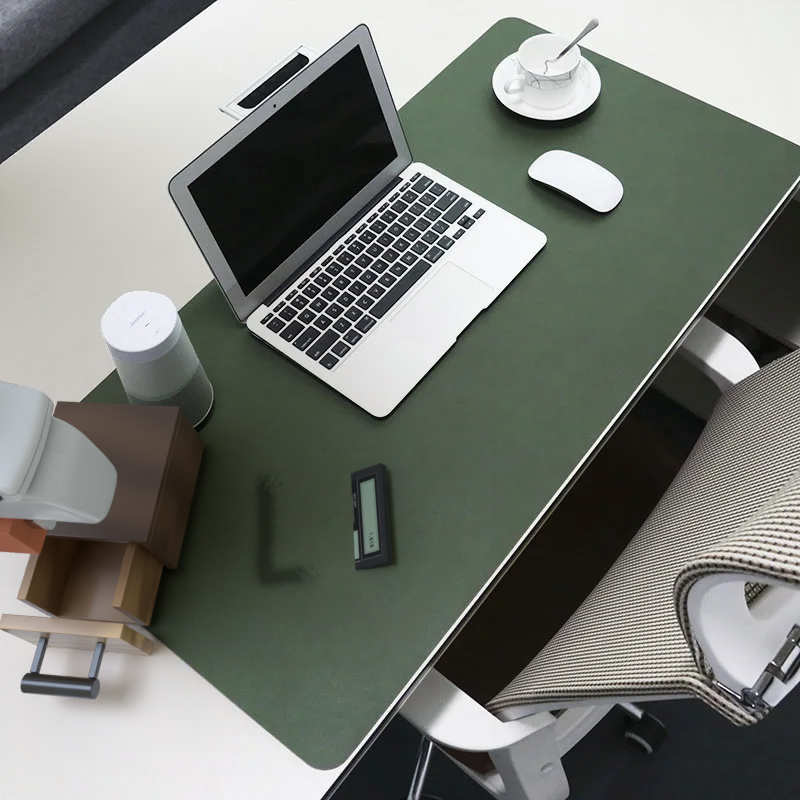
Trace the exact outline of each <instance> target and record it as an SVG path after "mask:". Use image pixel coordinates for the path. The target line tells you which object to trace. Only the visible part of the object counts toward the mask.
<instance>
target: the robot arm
mask: <svg viewBox="0 0 800 800" xmlns="http://www.w3.org/2000/svg"><path fill="white" fill-rule="evenodd" d="M54 408H55V406H54V402H53V400H52V399H51V397H50V396H48V395H47V394H46V393H45V392H43V391H42V390H39V389H37V388H34V387H30V386H25V385H21V384H20V385H19V384H16V383H10V382H6V381H1V380H0V518H12V519H24V521H23V522H24V523H26V524H27V525H29V526H30V527H31V528H34V529H46V530H53V529H54V527H55V525H56V522H57V521H59V522H74V523H87V524H96V523H99V522H101V521H102V520H103V519H104V518H105V517H106V516H107V514H108V512H109V509H110V507H111V503H112V500H113V497H114V493H115V488H116V483H117V471H116V469H115V467H114V466H113V464H112V463H111V462H110V461H109V459H108V458H107V457H106V456H105V455H104V454H103V453H102V452H101V451H100V450H99V449H98V448H97V447H96V446H95V445H94V444H93V443H92V442H91V441H90V440H89V439H88V438H87V437H86V436H85V435H84V434H83V433H82V432H80V431H79V430H78V429H76V428H75V427H73V426H72V425H70V424H68V423H67V422H65V421H63V420H60V419H57V418H55V417H52V416H53V413H54Z"/></svg>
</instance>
